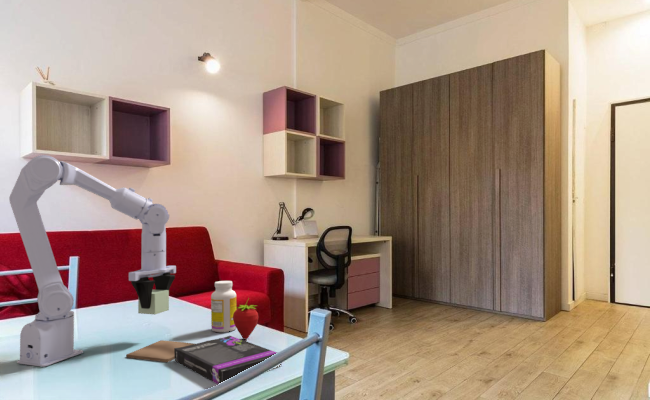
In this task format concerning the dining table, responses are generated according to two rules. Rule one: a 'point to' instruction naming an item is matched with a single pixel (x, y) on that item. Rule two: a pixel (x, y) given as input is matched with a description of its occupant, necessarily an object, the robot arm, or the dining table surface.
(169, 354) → the walnut board
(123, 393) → the dining table surface
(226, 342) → the box
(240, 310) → the strawberry
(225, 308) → the supplement bottle
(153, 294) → the sage cube
